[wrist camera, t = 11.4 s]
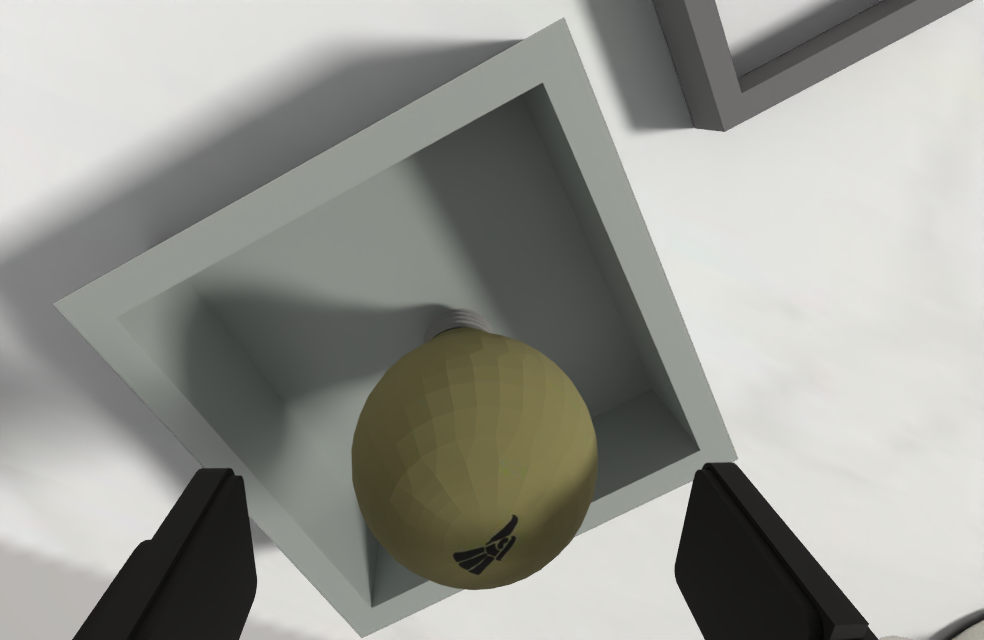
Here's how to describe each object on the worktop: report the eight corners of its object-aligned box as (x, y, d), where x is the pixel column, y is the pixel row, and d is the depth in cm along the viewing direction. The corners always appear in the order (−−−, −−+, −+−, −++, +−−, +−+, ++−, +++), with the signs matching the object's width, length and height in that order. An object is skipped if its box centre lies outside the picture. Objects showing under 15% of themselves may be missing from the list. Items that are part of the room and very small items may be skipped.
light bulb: (499, 422, 21) (557, 676, 12) (356, 377, 19) (292, 624, 10) (563, 291, 19) (689, 466, 10) (411, 232, 18) (394, 370, 9)
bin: (673, 384, 22) (738, 458, 18) (374, 531, 23) (361, 638, 19) (526, 38, 17) (563, 17, 12) (147, 251, 18) (52, 303, 13)
